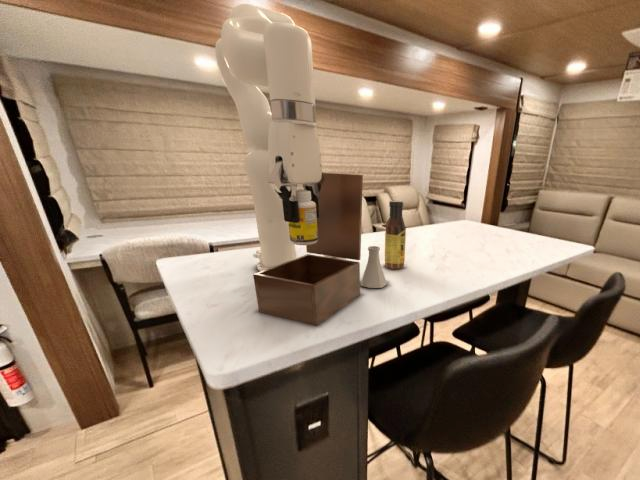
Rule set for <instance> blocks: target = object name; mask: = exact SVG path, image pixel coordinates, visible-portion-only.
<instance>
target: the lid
mask: <svg viewBox="0 0 640 480" xmlns="http://www.w3.org/2000/svg"><path fill="white" fill-rule="evenodd" d="M322 174H323V176H324V182H323V184H322V186H321V189H320V192H319V193H320V197H319V198H318V204H319V218H317V232H318V241H317V242H316V243H315V244H312V245H305V246H306V253H308V254H313V255H320V256H324V255H327V256H334V257H340V258H346V260H352V261H361V255H362V254H361V252H362V251H361V249H362V222H363V221H362V217H363V187H364V186H363V185H364V183H363V182H364V175H363V174H354V173H353V174H352V173H332V172H322ZM310 187H311V186H309V188H310Z"/></svg>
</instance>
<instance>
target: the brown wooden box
mask: <svg viewBox="0 0 640 480" xmlns="http://www.w3.org/2000/svg"><path fill="white" fill-rule="evenodd" d="M360 264H361V263H360V261H356V260H349V259H346V260H342V259H336V258H329V257H324V255H317V254H311V253H308V254H304V255H301V256H299V257H296V259H293V260H290V261H288V262H285V263H282V264H280V265H277V266H274V267H272V268H269V269H266V270H263V271H258V272H255V273H253V274H252V277H253V282H254V283H253V284H254V290H255V296H256V302H257V307H258V308H257V309H258V312H259V313H263V314H268V315H271V316H276V317H280V318H284V319H288V320H293V321H296V322H301V323H305V324H309V325H313V326H319V325H321V324H322V323H323V322H325V321H326V320H327V319H329V318H330V317H332V316H333V315H334V314H336V313H337V312H338V311H340V310H341V309H343V308H344V307H345V306H347V305H348V304H350V303H351V302H353V301H354V300H355V299H356V298H358V297H359V296H360V295H361V269H360V266H361V265H360Z"/></svg>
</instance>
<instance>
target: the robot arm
mask: <svg viewBox="0 0 640 480" xmlns="http://www.w3.org/2000/svg"><path fill="white" fill-rule="evenodd" d="M221 27H222V28H221V33H220V38H218V39H217V41H216V43H215V47H214V50H215V51H214V52H215V60H216V63H217V67H218V71H219V74H220V77H221V79H222V82H223V83H224V86H225V88H226V89H227V91H228V94H229V95H230V96H231V99H232V100H233V102H234V104H235V108H236V112H237V116H238V120H239V124H240V128H241V132H242V136H243V139H244V142H245V144H246V146H247V147H248V149H250V150H251V151H250V152H249V153H247V154H246V156H244V160H243V164H244V170H245V171H244V172H245V175H246V178H247V180H248V181H247V182H248V185H249V188H250V192H251V196H252V200H253V201H252V202H253V207H254V208H253V209H254V214H255V221H256V227H257V234H258V241H259V247H260V249H257V250H256V251H255V253H253V255H252V256H253V257H252V258H254V259H258V260H259V263H258V264H257V265H256V269H257V270H258V272H261V271H263V270H266V269H269V268H272V267H274V266H277V265H280V264H282V263H285V262H288V261H290V260H293V259H296V258H297V251H296V244H293V243H292V242H291V241H290V234H289V224H288V222H293V223H299V221H300V219H299V207H298V201H295V198H296V191H297V190H307V191H311V201H313V202H315V204H316V215H317V218H319V204H318V198H319V197H320V193H319V192H320V189H321V186H322V184H323V182H324V176H323V174H322V173H323V166H322V154H321V146H320V139H319V134H318V129H317V109H316V92H315V76H314V75H315V74H314V56H313V43H312V38H311V36H310V35H309V33H308V31H307V30H306V29H304V27H300V25H299V26H298V25H296V24H295V22H294V20H292V18H291V17H290V15H289V16H288V15H287V14H285V13H283V12H281V11H276V10H272V9H268V8H265V7H261V6H257V5H254V4H249V3H239V4H237V5H236V6H234V7H233V8H232V10H231V11H230V14H229V18H227V19H225V21H224V22H223V24H222V26H221ZM258 86H262V87H267V88H268V95H269V99H268V98H267V96H266V95H265V94H264V93H263V92H262V91H261V90H260V88H259V87H258ZM309 186H311V187H310V188H309Z"/></svg>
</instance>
